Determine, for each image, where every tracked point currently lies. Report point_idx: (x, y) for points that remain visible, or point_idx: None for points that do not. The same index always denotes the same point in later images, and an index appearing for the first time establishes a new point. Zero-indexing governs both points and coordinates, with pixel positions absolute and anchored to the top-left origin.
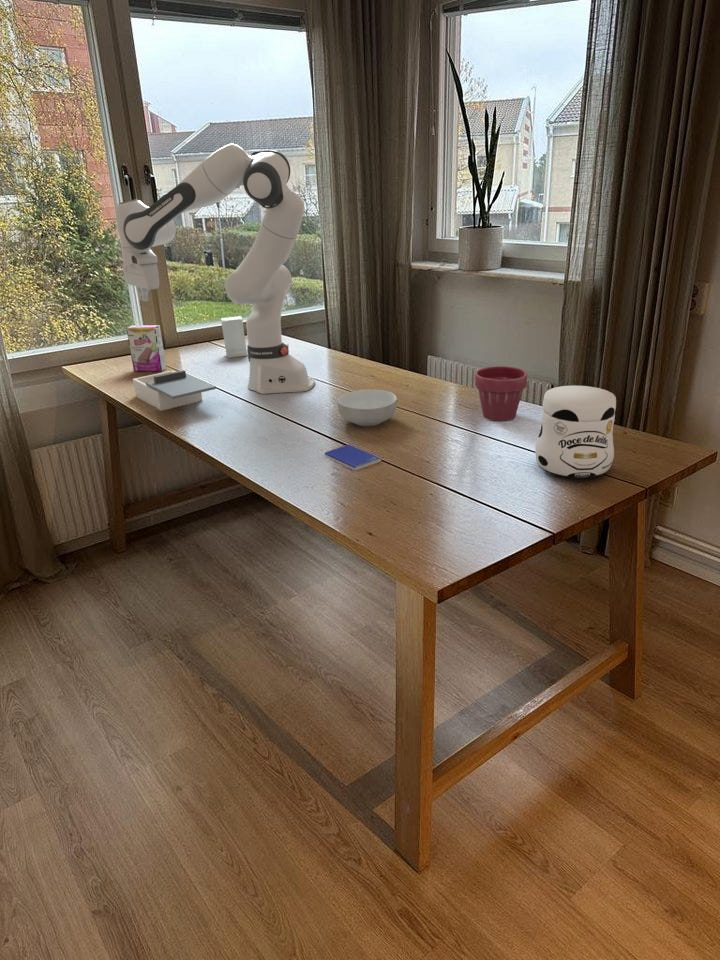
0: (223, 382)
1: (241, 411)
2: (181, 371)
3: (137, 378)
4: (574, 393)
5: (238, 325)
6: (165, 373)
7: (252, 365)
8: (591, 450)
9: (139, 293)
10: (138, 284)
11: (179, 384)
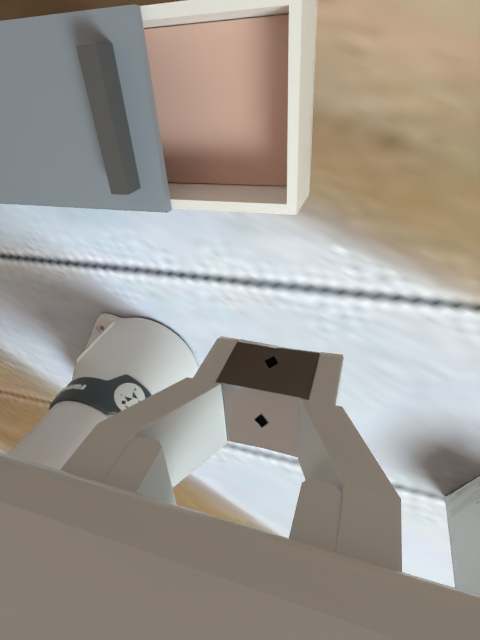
0: (251, 318)
1: (5, 213)
2: (112, 180)
3: (290, 15)
4: None
5: (467, 590)
6: (288, 174)
7: (107, 363)
8: None
9: (313, 425)
10: (10, 516)
11: (46, 121)
